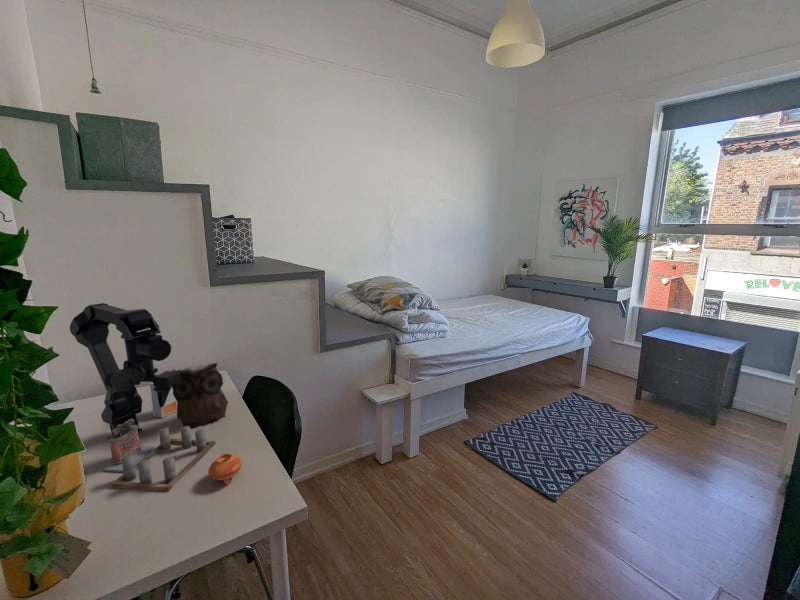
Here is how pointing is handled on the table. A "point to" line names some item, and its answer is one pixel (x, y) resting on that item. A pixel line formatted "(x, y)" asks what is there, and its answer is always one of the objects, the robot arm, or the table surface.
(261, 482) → the table surface
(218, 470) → the pot
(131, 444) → the lighter
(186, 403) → the owl
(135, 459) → the mat
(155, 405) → the skincare box
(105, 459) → the table surface
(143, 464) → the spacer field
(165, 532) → the table surface
